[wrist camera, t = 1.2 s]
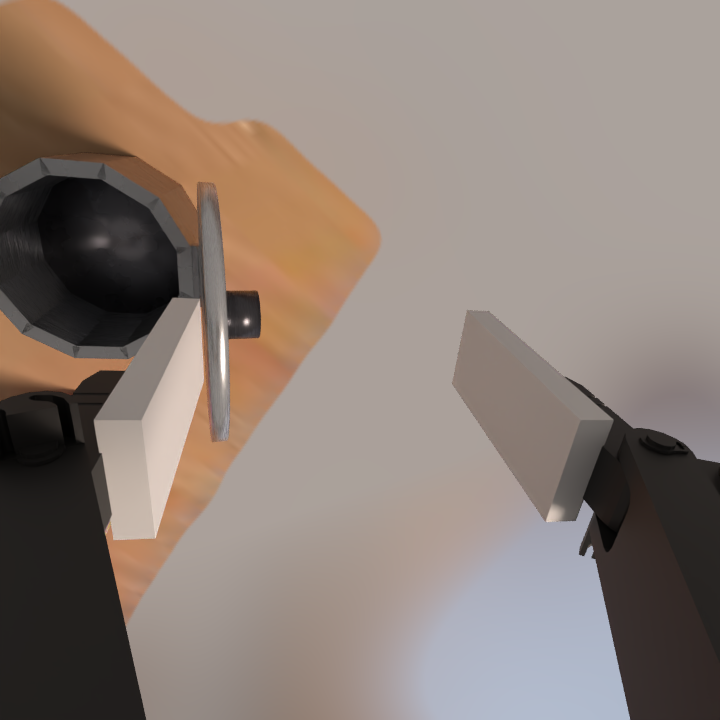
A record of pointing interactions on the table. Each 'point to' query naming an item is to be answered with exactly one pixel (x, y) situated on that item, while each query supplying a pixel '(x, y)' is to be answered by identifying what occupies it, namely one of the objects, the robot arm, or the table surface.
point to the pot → (94, 251)
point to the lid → (219, 311)
